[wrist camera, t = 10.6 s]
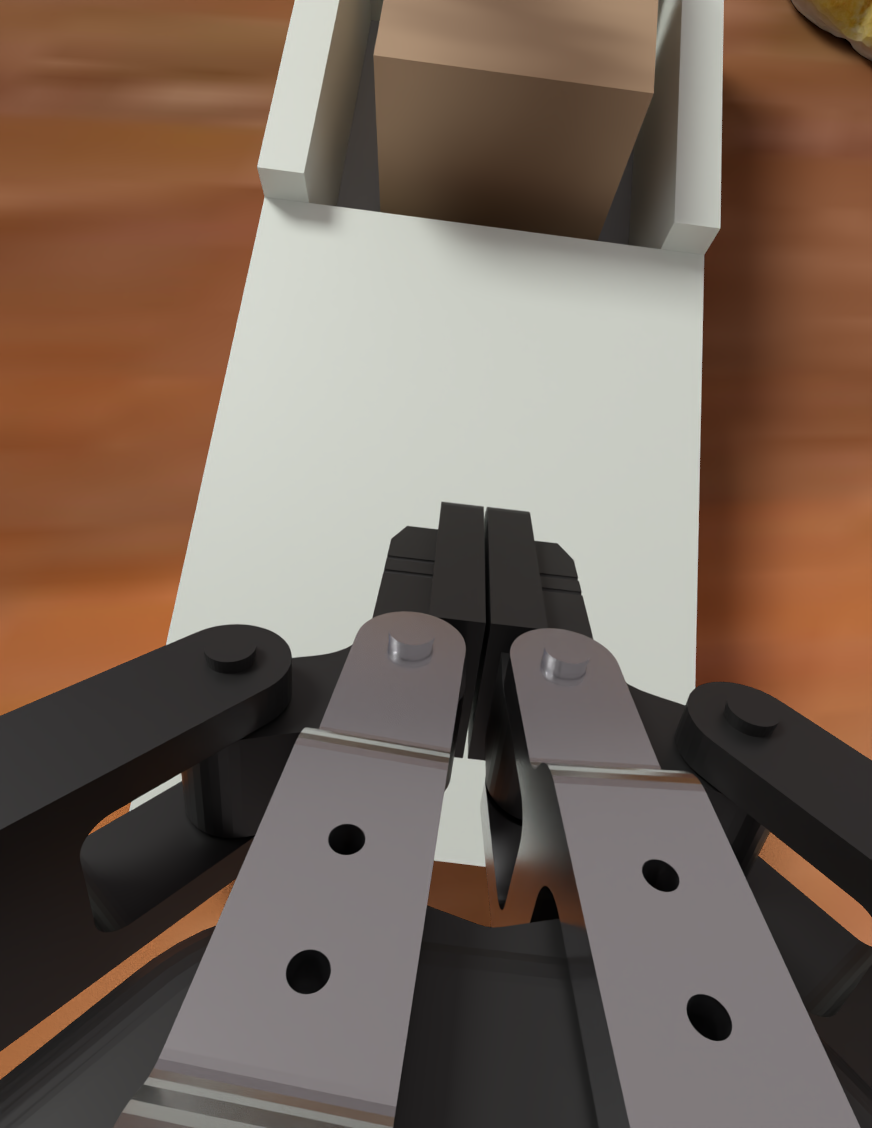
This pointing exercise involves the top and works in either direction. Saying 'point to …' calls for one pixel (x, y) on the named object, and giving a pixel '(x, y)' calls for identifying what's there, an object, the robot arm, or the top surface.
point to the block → (511, 109)
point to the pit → (349, 132)
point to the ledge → (452, 434)
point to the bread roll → (842, 20)
